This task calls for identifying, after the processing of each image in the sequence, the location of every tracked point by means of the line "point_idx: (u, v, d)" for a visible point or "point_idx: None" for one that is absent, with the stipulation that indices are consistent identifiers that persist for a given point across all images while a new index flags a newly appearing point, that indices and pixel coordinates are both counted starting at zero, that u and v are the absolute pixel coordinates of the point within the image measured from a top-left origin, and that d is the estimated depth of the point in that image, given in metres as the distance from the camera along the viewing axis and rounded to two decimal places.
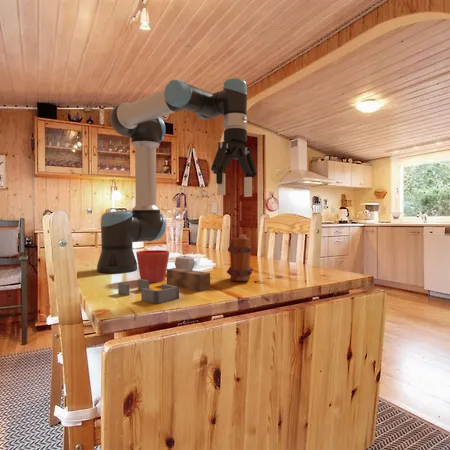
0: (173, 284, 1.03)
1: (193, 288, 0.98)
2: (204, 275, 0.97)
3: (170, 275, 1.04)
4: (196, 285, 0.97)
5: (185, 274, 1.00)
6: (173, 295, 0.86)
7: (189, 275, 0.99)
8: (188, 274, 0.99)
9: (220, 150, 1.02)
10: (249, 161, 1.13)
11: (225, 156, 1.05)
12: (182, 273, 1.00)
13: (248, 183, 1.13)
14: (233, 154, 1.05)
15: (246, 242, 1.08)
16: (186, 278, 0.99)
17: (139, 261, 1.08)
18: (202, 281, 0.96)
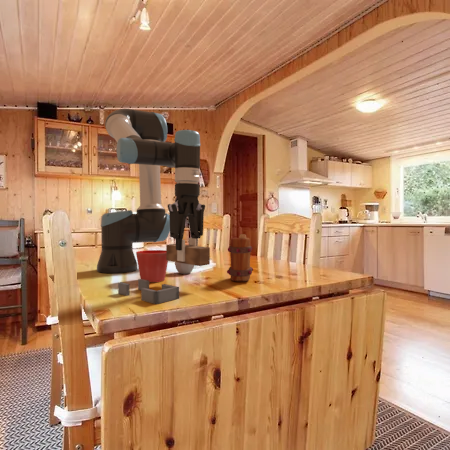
0: (172, 259, 1.04)
1: (193, 262, 0.98)
2: (204, 249, 0.97)
3: (169, 250, 1.04)
4: (196, 259, 0.97)
5: None
6: (173, 295, 0.86)
7: (189, 249, 0.99)
8: (188, 248, 0.99)
9: (172, 214, 0.97)
10: (199, 218, 1.05)
11: (179, 216, 1.00)
12: None
13: (192, 245, 1.03)
14: (186, 213, 0.99)
15: (246, 242, 1.08)
16: (186, 252, 1.00)
17: (139, 261, 1.08)
18: (202, 255, 0.96)
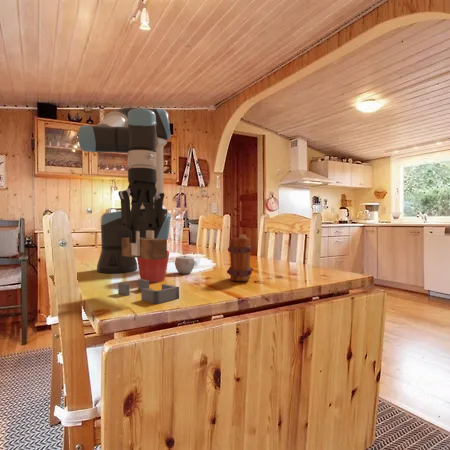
0: (127, 254, 0.93)
1: (147, 256, 0.87)
2: (159, 241, 0.86)
3: (124, 244, 0.93)
4: (150, 252, 0.86)
5: None
6: (173, 295, 0.86)
7: (143, 242, 0.88)
8: (142, 241, 0.88)
9: (123, 203, 0.86)
10: (157, 208, 0.94)
11: (133, 205, 0.89)
12: None
13: None
14: (140, 201, 0.88)
15: (246, 242, 1.08)
16: (140, 245, 0.89)
17: (139, 261, 1.08)
18: (157, 248, 0.85)
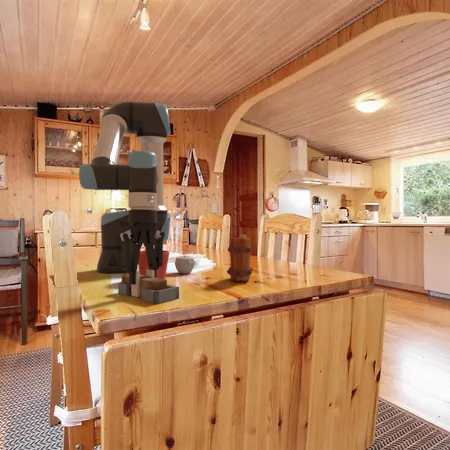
0: None
1: None
2: (159, 282, 0.86)
3: (125, 281, 0.94)
4: None
5: None
6: (173, 295, 0.86)
7: (143, 282, 0.88)
8: (142, 281, 0.88)
9: (124, 245, 0.87)
10: (158, 247, 0.94)
11: (133, 246, 0.90)
12: None
13: None
14: (141, 243, 0.89)
15: (246, 242, 1.08)
16: (140, 285, 0.89)
17: (139, 261, 1.08)
18: (157, 289, 0.86)
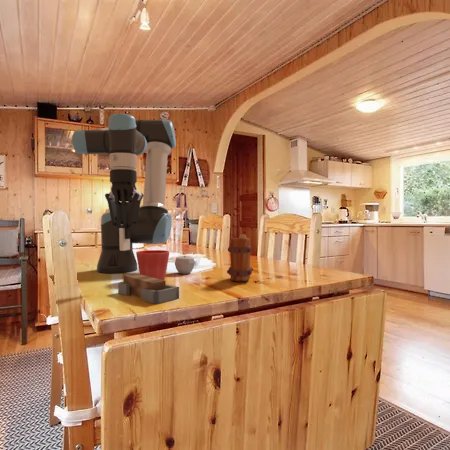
0: None
1: None
2: (157, 283, 0.86)
3: (126, 281, 0.94)
4: None
5: (138, 281, 0.89)
6: (173, 295, 0.86)
7: (142, 283, 0.88)
8: (141, 281, 0.88)
9: None
10: None
11: None
12: (136, 280, 0.90)
13: None
14: (116, 200, 0.97)
15: (246, 242, 1.08)
16: (140, 286, 0.89)
17: (139, 261, 1.08)
18: (155, 290, 0.85)
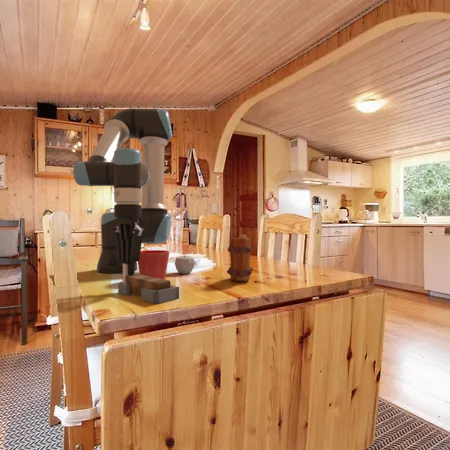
0: (131, 292, 0.93)
1: None
2: (163, 283, 0.86)
3: (128, 282, 0.94)
4: None
5: (143, 281, 0.89)
6: (173, 295, 0.86)
7: (147, 283, 0.88)
8: (146, 282, 0.88)
9: None
10: None
11: None
12: (140, 280, 0.90)
13: None
14: (120, 235, 0.95)
15: (246, 242, 1.08)
16: (144, 286, 0.89)
17: (139, 261, 1.08)
18: None
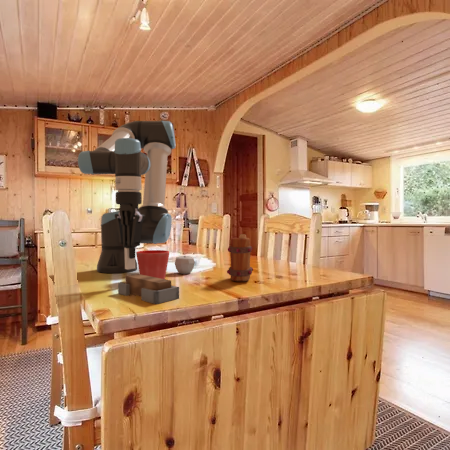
0: (131, 292, 0.92)
1: None
2: (164, 283, 0.86)
3: (129, 282, 0.93)
4: None
5: (143, 281, 0.89)
6: (173, 295, 0.86)
7: (148, 283, 0.88)
8: (147, 282, 0.88)
9: None
10: None
11: None
12: (141, 280, 0.90)
13: None
14: (121, 221, 1.01)
15: (246, 242, 1.08)
16: (145, 286, 0.88)
17: (139, 261, 1.08)
18: None
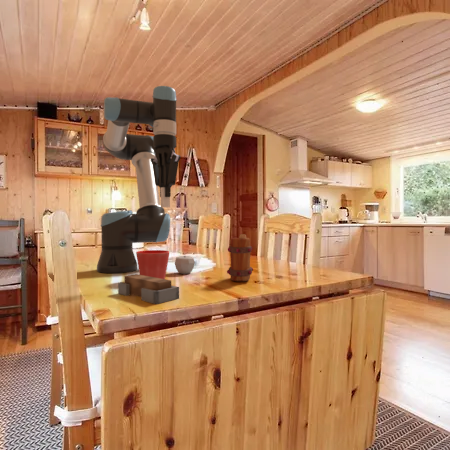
0: (131, 293, 0.92)
1: None
2: (164, 283, 0.86)
3: (128, 282, 0.93)
4: None
5: (143, 281, 0.89)
6: (173, 295, 0.86)
7: (147, 283, 0.87)
8: (146, 282, 0.88)
9: None
10: None
11: None
12: (140, 281, 0.89)
13: None
14: (158, 163, 1.10)
15: (246, 242, 1.08)
16: (144, 286, 0.88)
17: (139, 261, 1.08)
18: None
